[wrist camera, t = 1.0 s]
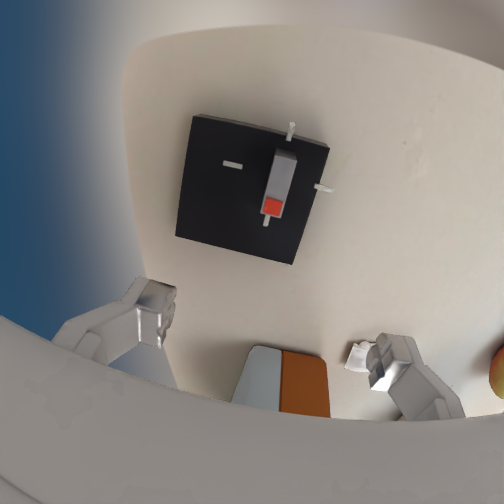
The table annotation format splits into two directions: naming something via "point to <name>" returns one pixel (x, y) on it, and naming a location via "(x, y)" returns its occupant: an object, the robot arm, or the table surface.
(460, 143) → the table surface
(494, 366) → the apple
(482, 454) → the robot arm
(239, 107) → the table surface
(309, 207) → the black flat square piece
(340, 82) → the table surface
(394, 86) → the table surface
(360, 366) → the toy car
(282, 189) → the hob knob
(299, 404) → the alarm clock
